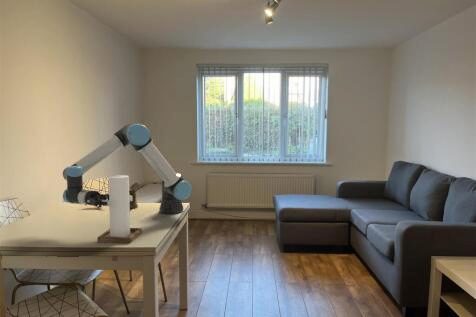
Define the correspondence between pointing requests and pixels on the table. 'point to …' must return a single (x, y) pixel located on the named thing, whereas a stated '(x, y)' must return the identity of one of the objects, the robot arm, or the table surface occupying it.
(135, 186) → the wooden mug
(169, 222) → the table surface
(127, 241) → the walnut stand tray
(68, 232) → the table surface
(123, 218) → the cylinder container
